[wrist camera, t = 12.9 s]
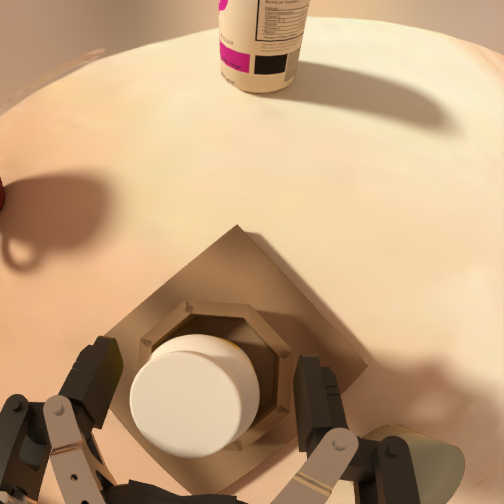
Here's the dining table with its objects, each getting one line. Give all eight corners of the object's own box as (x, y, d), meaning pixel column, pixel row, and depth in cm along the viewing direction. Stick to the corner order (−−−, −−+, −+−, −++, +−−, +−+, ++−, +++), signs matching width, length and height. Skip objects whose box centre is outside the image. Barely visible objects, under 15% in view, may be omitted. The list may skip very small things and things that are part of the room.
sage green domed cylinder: (374, 500, 16) (411, 536, 9) (331, 467, 17) (365, 507, 10) (425, 448, 17) (475, 468, 10) (389, 409, 18) (441, 427, 12)
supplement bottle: (158, 367, 18) (85, 379, 9) (221, 321, 19) (199, 296, 10) (206, 430, 17) (175, 495, 7) (271, 384, 18) (298, 420, 8)
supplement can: (211, 91, 27) (204, -37, 13) (232, 52, 29) (233, -53, 15) (288, 103, 27) (314, -27, 12) (297, 62, 29) (318, -43, 15)
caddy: (203, 495, 16) (197, 518, 12) (83, 360, 19) (58, 361, 15) (361, 364, 20) (383, 367, 16) (237, 230, 22) (237, 209, 19)
